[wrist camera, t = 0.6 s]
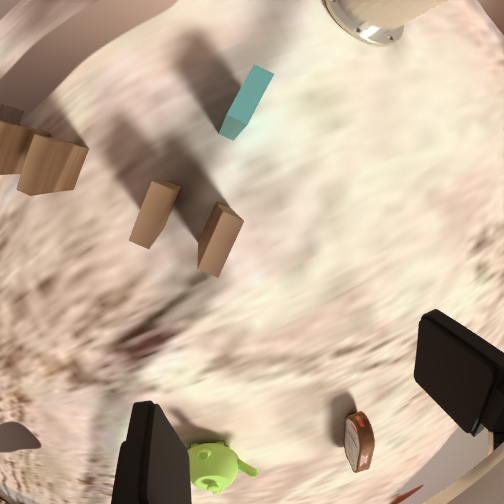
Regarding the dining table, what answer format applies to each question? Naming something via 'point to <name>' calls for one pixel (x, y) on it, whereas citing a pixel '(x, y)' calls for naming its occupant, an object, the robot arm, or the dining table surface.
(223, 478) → the teapot
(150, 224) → the domino
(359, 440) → the tin
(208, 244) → the domino
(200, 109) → the dining table surface
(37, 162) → the domino
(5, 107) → the block
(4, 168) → the domino
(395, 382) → the dining table surface
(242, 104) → the domino
